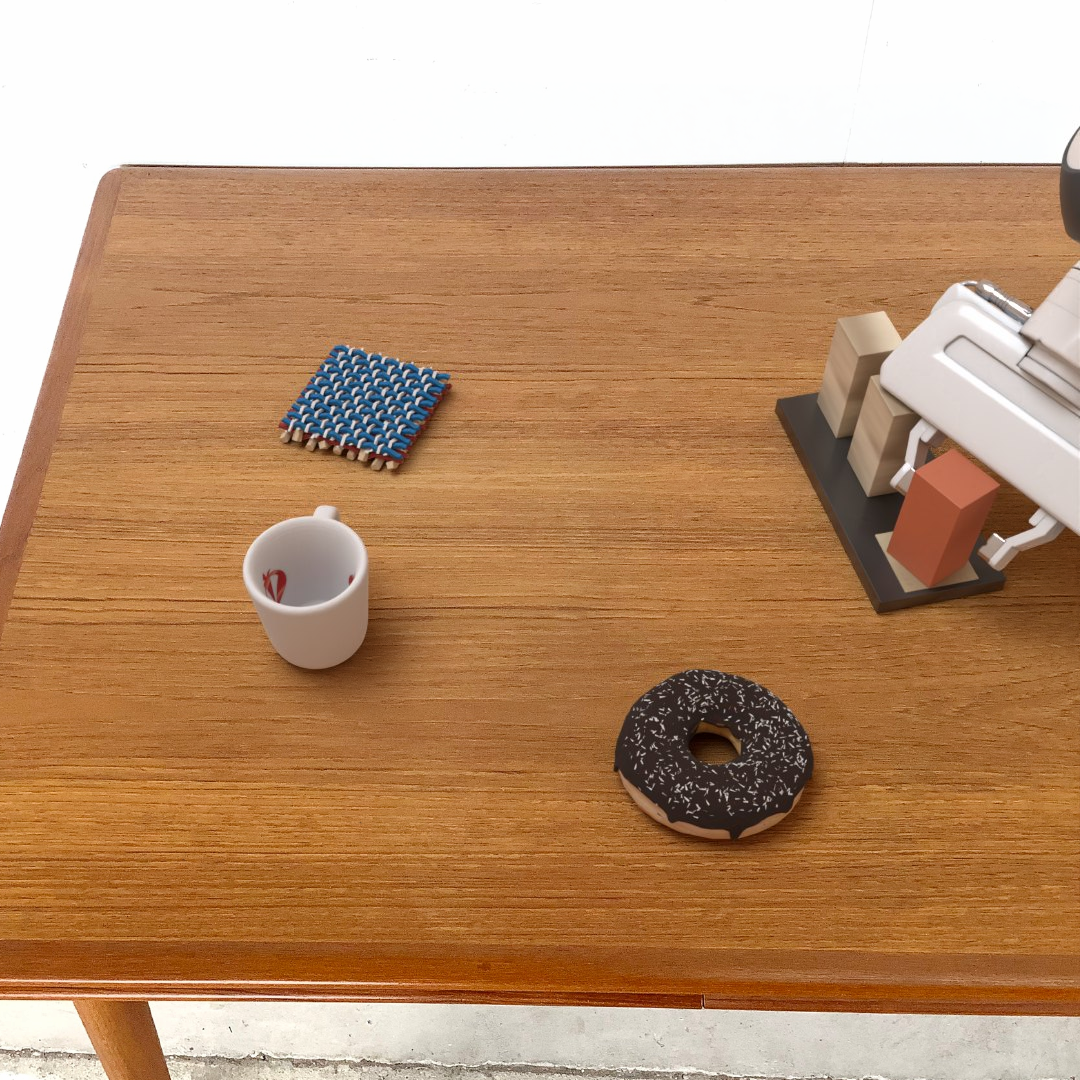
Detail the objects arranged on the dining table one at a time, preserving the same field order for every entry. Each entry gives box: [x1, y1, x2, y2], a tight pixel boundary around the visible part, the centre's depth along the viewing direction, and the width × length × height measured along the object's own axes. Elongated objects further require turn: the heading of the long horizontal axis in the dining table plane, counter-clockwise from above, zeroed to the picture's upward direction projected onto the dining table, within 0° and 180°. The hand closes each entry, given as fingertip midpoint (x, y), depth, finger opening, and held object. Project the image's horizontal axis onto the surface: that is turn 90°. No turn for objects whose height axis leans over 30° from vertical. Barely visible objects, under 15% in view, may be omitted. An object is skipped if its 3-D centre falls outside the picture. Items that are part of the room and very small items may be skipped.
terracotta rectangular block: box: [886, 447, 1001, 588], centre depth 86 cm, size 4×4×8 cm
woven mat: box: [277, 344, 453, 471], centre depth 100 cm, size 10×11×2 cm
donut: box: [612, 668, 815, 842], centre depth 80 cm, size 11×12×4 cm
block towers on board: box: [774, 310, 1008, 614], centre depth 90 cm, size 9×20×9 cm, turn 11°
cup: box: [242, 504, 370, 670], centre depth 86 cm, size 11×8×8 cm
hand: (942, 526), depth 85 cm, fingers open, 6 cm apart
